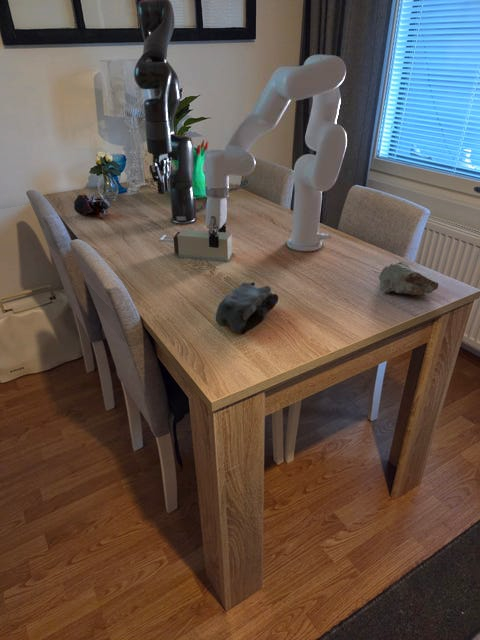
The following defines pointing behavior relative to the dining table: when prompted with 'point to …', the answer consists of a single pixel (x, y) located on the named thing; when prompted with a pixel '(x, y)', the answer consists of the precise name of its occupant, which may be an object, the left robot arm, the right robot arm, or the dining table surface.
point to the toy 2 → (197, 170)
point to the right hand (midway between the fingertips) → (217, 241)
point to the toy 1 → (90, 206)
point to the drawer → (171, 241)
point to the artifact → (405, 280)
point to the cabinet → (204, 245)
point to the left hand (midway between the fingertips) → (163, 192)
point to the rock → (245, 307)
